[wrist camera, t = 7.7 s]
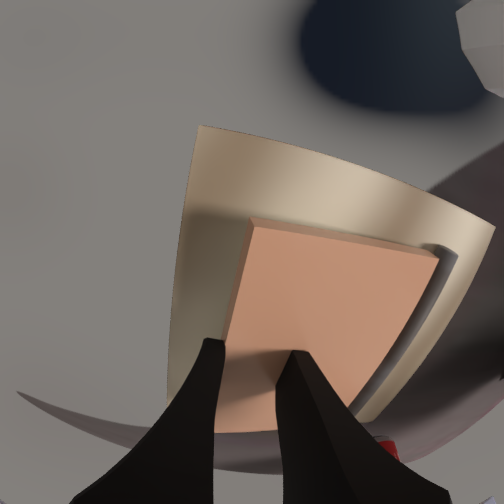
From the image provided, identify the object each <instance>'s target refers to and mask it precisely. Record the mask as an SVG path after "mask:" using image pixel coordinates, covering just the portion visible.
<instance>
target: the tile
mask: <svg viewBox="0 0 504 504" xmlns="http://www.w3.org/2000/svg"><path fill="white" fill-rule="evenodd" d="M438 261H439V258H437V257H436V256H435V255H433V254H432V253H431V252H429V251H428V250H424V249H420V248H415V247H410V246H406V245H401V244H396V243H392V242H387V241H382V240H377V239H372V238H367V237H362V236H357V235H352V234H347V233H342V232H336V231H331V230H326V229H320V228H315V227H309V226H304V225H298V224H292V223H286V222H281V221H275V220H269V219H263V218H256V217H250V216H249V220H248V224H247V228H246V232H245V236H244V241H243V245H242V249H241V253H240V258H239V262H238V266H237V270H236V275H235V279H234V283H233V287H232V292H231V296H230V300H229V305H228V309H227V313H226V318H225V322H224V326H223V331H222V335H221V339H220V340H223V341H224V344H225V346H226V358H225V363H224V369H223V374H222V380H221V385H220V391H219V396H218V402H217V407H216V415H215V426H214V433H231V432H254V431H268V430H278V427H277V420H276V412H275V385H276V383H277V381H278V379H279V377H280V375H281V373H282V371H283V369H284V367H285V364H286V362H287V360H288V358H289V356H290V354H291V351H292V350H298V351H308V352H309V353H310V354H311V356H312V357H313V359H314V360H315V362H316V363H317V365H318V366H319V368H320V369H321V371H322V372H323V374H324V376H325V377H326V379H327V380H328V381H329V383H330V384H331V386H332V387H333V389H334V390H335V392H336V393H337V394H338V396H339V397H340V399H341V400H342V401H343V403H344V404H345V405H346V407H348V406H349V405H350V403H351V402H352V401H353V400H354V398H355V397H356V396H357V395H358V393H359V392H360V391H361V389H362V388H363V387H364V386H365V384H366V383H367V381H368V380H369V379H370V377H371V376H372V375H373V373H374V372H375V370H376V369H377V368H378V366H379V365H380V363H381V362H382V360H383V359H384V357H385V356H386V354H387V353H388V351H389V350H390V348H391V347H392V345H393V344H394V342H395V341H396V339H397V337H398V336H399V334H400V332H401V331H402V329H403V328H404V326H405V324H406V322H407V321H408V319H409V317H410V316H411V314H412V312H413V310H414V308H415V307H416V305H417V303H418V301H419V299H420V297H421V296H422V294H423V292H424V290H425V288H426V286H427V284H428V282H429V280H430V278H431V276H432V274H433V272H434V270H435V267H436V265H437V263H438Z"/></svg>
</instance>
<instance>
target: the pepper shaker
mask: <svg viewBox="0 0 504 504" xmlns="http://www.w3.org/2000/svg"><path fill="white" fill-rule="evenodd" d="M455 15H456V19H457V25H458V30H459V36H460V42H461V49H462V52H463V53H464V55H465V56H466V58H467V59H468V61H469V62H470V64H471V66H472V67H473V69H474V71H475V72H476V74H477V76H478V78H479V79H480V81H481V83H482V85H483V86H484V88H485V89H486V90H488V91H490V92H492V93H494V94H496V95H498V96H500V97H502V98H503V99H504V0H471V1H470V2H469V3H467V4H466V5H464V6H463V7H462V8H460V9H459V10H457V11H456V13H455Z"/></svg>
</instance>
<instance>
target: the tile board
mask: <svg viewBox="0 0 504 504" xmlns="http://www.w3.org/2000/svg"><path fill="white" fill-rule="evenodd" d="M249 216H250V217H256V218H263V219H269V220H275V221H281V222H286V223H292V224H298V225H304V226H309V227H315V228H320V229H326V230H331V231H336V232H342V233H347V234H352V235H357V236H362V237H367V238H372V239H377V240H382V241H387V242H392V243H396V244H401V245H406V246H410V247H415V248H420V249H424V250H428V251H429V252H431V253H432V254H433V255H435V256H436V257H437V258H439V261H438V263H437V265H436V267H435V270H434V272H433V274H432V276H431V278H430V280H429V282H428V284H427V286H426V288H425V290H424V292H423V294H422V296H421V297H420V299H419V301H418V303H417V305H416V307H415V308H414V310H413V312H412V314H411V316H410V317H409V319H408V321H407V322H406V324H405V326H404V328H403V329H402V331H401V332H400V334H399V336H398V337H397V339H396V341H395V342H394V344H393V345H392V347H391V348H390V350H389V351H388V353H387V354H386V356H385V357H384V359H383V360H382V362H381V363H380V365H379V366H378V368H377V369H376V370H375V372H374V373H373V375H372V376H371V377H370V379H369V380H368V381H367V383H366V384H365V386H364V387H363V388H362V389H361V391H360V392H359V393H358V395H357V396H356V397H355V398H354V400H353V401H352V402H351V403H350V405H349V406H348V407H347V408H348V409H349V411H350V412H351V413H352V414H353V415H354V417H355V418H356V419H357V420H358V422H359V423H362V422H372V421H373V420H374V419H375V418H376V417H377V416H378V415H379V414H380V413H381V412H382V411H383V409H384V408H385V407H386V406H387V405H388V404H389V403H390V402H391V400H392V399H393V398H394V397H395V396H396V395H397V393H398V392H399V391H400V390H401V389H402V387H403V386H404V385H405V384H406V383H407V381H408V380H409V379H410V378H411V376H412V375H413V374H414V372H415V371H416V370H417V368H418V367H419V366H420V364H421V363H422V362H423V360H424V359H425V358H426V356H427V355H428V353H429V352H430V351H431V349H432V348H433V346H434V345H435V343H436V342H437V340H438V339H439V337H440V336H441V334H442V333H443V331H444V329H445V328H446V326H447V325H448V323H449V321H450V320H451V318H452V316H453V315H454V313H455V311H456V310H457V308H458V306H459V304H460V303H461V301H462V299H463V297H464V295H465V293H466V292H467V290H468V288H469V286H470V284H471V282H472V280H473V278H474V276H475V274H476V272H477V270H478V267H479V265H480V263H481V261H482V259H483V256H484V254H485V252H486V249H487V247H488V245H489V242H490V240H491V237H492V235H493V232H494V229H495V226H493V225H491V224H490V223H488V222H486V221H485V220H483V219H481V218H479V217H477V216H475V215H473V214H472V213H470V212H468V211H466V210H464V209H462V208H460V207H458V206H456V205H454V204H452V203H450V202H448V201H445V200H443V199H441V198H439V197H437V196H435V195H433V194H430V193H428V192H426V191H424V190H421V189H419V188H416V187H414V186H412V185H410V184H407V183H405V182H402V181H400V180H397V179H395V178H392V177H390V176H387V175H384V174H382V173H379V172H376V171H373V170H371V169H368V168H366V167H363V166H360V165H357V164H354V163H351V162H348V161H345V160H342V159H339V158H335V157H333V156H330V155H326V154H323V153H320V152H316V151H313V150H310V149H306V148H302V147H298V146H295V145H291V144H288V143H284V142H279V141H276V140H271V139H268V138H263V137H259V136H255V135H250V134H246V133H241V132H236V131H231V130H226V129H221V128H215V127H210V126H204V125H199V127H198V131H197V136H196V141H195V146H194V151H193V156H192V161H191V166H190V172H189V178H188V183H187V189H186V195H185V201H184V208H183V214H182V221H181V228H180V235H179V243H178V251H177V259H176V268H175V277H174V287H173V297H172V308H171V321H170V337H169V354H168V377H167V379H168V380H167V407H168V406H169V404H170V403H171V401H172V400H173V398H174V397H175V396H176V394H177V393H178V391H179V390H180V388H181V386H182V385H183V383H184V381H185V380H186V378H187V376H188V374H189V373H190V371H191V369H192V367H193V365H194V363H195V361H196V359H197V357H198V354H199V352H200V349H201V346H202V343H203V339H205V338H207V337H208V338H214V339H221V335H222V331H223V326H224V322H225V318H226V313H227V309H228V305H229V300H230V296H231V292H232V287H233V283H234V279H235V275H236V270H237V266H238V262H239V258H240V253H241V249H242V245H243V241H244V236H245V232H246V228H247V224H248V220H249Z"/></svg>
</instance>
